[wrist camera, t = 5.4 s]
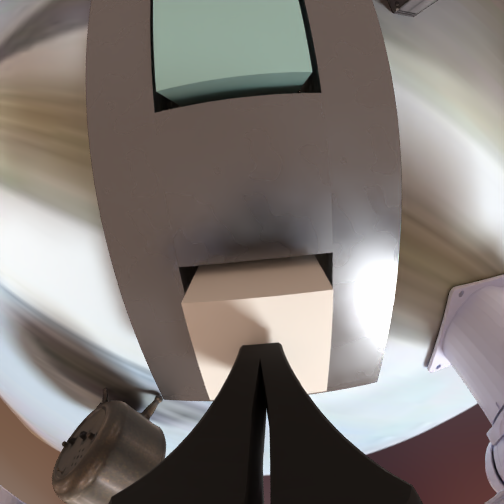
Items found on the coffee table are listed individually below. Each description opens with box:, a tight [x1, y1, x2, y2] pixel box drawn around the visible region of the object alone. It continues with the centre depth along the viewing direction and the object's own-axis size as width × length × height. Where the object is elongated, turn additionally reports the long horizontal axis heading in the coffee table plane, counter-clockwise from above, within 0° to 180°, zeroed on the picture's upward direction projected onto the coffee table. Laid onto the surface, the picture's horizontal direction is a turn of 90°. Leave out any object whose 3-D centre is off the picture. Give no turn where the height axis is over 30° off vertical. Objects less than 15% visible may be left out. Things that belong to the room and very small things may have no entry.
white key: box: [181, 254, 333, 400], centre depth 11 cm, size 5×5×4 cm
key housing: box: [86, 0, 402, 401], centre depth 11 cm, size 12×22×4 cm, turn 6°
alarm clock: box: [52, 388, 166, 504], centre depth 12 cm, size 11×5×16 cm, turn 131°
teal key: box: [153, 0, 312, 107], centre depth 8 cm, size 5×5×4 cm
